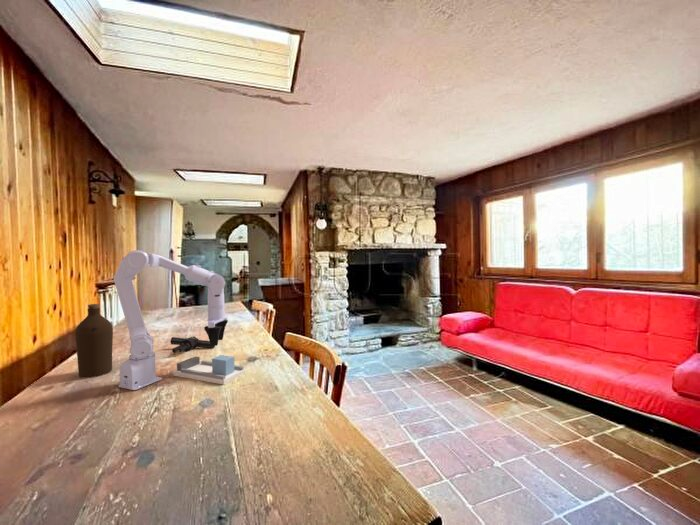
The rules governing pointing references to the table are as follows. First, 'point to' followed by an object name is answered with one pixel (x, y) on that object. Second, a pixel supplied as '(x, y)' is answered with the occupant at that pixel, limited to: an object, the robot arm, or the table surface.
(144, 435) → the table surface
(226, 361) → the block
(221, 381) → the rail board
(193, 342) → the black forked piece
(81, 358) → the olive oil
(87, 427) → the table surface
